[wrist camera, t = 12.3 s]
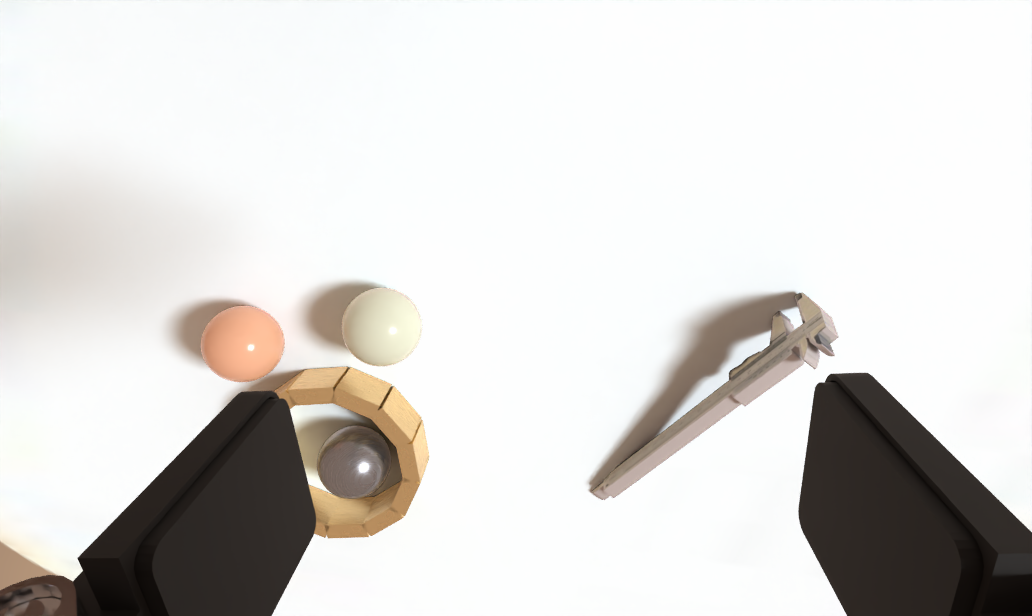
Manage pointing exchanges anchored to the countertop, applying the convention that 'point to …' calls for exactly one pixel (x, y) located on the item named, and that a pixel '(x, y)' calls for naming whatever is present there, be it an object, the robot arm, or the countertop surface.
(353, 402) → the ring
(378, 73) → the countertop surface
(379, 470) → the steel ball
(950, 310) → the countertop surface
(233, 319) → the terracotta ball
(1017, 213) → the countertop surface
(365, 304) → the cream ball
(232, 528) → the robot arm
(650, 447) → the caliper
